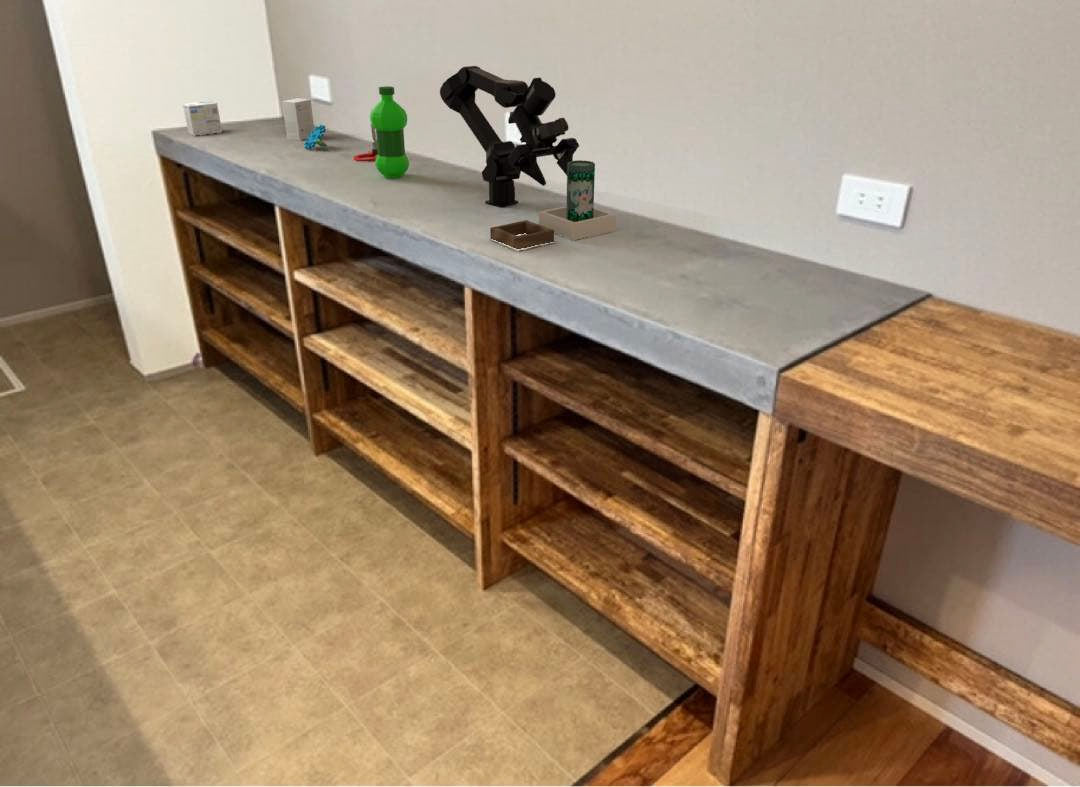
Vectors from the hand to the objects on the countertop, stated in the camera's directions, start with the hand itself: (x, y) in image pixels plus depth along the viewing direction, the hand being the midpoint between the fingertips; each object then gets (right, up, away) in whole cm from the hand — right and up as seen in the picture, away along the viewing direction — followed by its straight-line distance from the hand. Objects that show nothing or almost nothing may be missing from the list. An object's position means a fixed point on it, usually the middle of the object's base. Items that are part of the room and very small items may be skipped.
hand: (559, 182), depth 200 cm
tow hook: (-60, +25, +69) cm, 94 cm away
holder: (-9, -16, -9) cm, 20 cm away
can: (+5, -11, -1) cm, 12 cm away
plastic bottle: (-48, +14, +47) cm, 69 cm away
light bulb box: (-128, +44, +105) cm, 171 cm away
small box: (-90, +41, +98) cm, 140 cm away
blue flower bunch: (-80, +32, +82) cm, 119 cm away
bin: (+4, -11, 0) cm, 12 cm away
